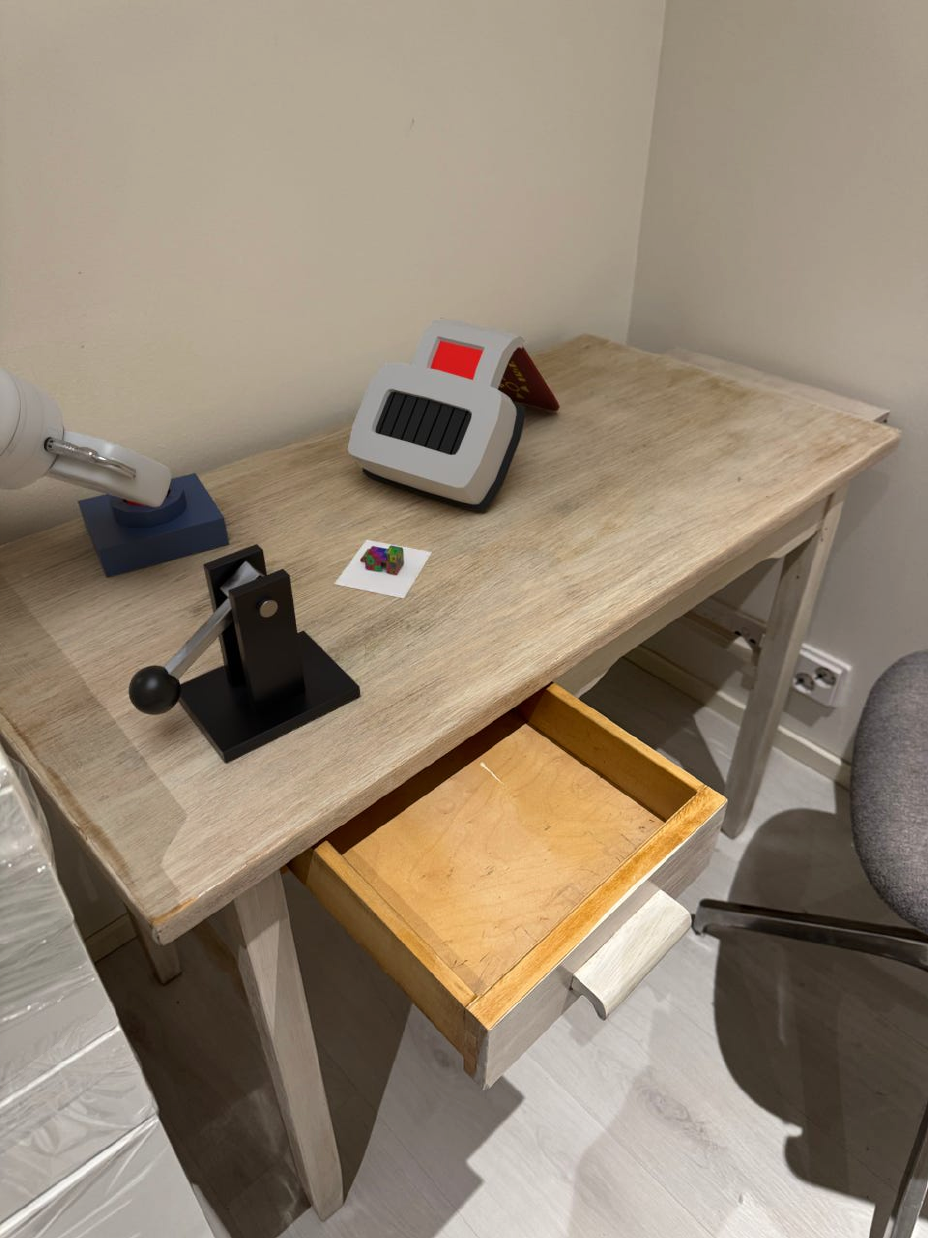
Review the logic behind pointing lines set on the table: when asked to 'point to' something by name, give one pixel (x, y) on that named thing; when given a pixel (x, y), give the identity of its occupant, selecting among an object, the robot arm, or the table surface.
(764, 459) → the table surface
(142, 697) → the lever
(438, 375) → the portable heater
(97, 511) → the stop box
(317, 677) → the switch bracket
